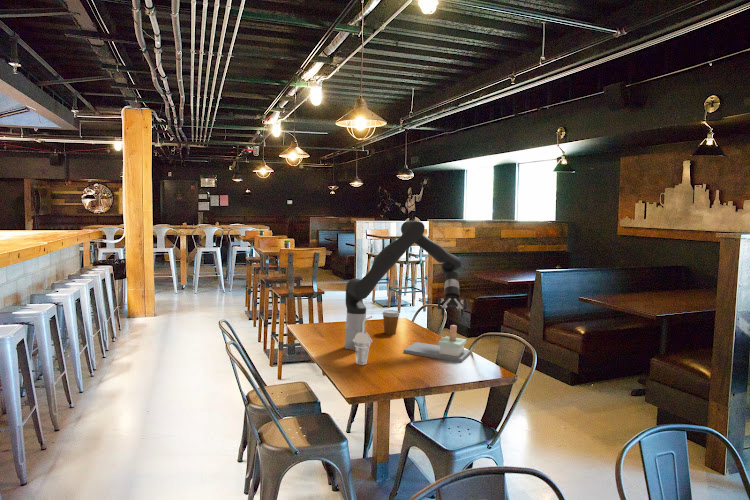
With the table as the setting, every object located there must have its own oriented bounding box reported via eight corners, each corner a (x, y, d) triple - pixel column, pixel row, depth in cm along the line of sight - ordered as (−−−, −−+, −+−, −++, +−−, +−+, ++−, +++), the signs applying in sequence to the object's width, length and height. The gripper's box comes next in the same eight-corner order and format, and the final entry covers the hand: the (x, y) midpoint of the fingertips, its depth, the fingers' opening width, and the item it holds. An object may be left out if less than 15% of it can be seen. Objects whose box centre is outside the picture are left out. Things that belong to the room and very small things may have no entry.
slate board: (461, 362, 226) (461, 359, 225) (403, 352, 237) (403, 349, 237) (470, 353, 242) (470, 350, 242) (416, 344, 253) (416, 341, 253)
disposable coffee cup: (389, 330, 283) (390, 309, 282) (402, 333, 276) (403, 312, 276) (377, 332, 276) (378, 311, 276) (390, 335, 270) (391, 314, 269)
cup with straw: (348, 361, 218) (351, 315, 217) (367, 359, 222) (370, 315, 220) (355, 366, 210) (358, 319, 209) (375, 365, 214) (377, 319, 213)
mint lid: (459, 348, 228) (461, 329, 228) (437, 345, 233) (439, 326, 232) (466, 343, 240) (467, 325, 239) (445, 339, 244) (446, 322, 243)
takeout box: (457, 356, 230) (458, 345, 229) (439, 353, 233) (440, 342, 233) (463, 351, 240) (464, 341, 239) (445, 348, 243) (446, 338, 243)
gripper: (438, 284, 253) (438, 310, 242) (466, 286, 252) (468, 313, 241) (437, 293, 258) (437, 319, 247) (465, 295, 257) (466, 321, 247)
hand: (452, 316), depth 244 cm, fingers open, 8 cm apart
